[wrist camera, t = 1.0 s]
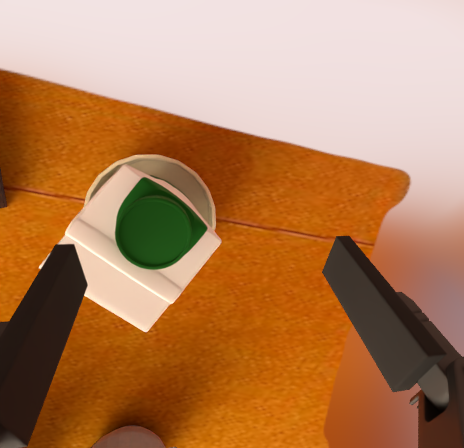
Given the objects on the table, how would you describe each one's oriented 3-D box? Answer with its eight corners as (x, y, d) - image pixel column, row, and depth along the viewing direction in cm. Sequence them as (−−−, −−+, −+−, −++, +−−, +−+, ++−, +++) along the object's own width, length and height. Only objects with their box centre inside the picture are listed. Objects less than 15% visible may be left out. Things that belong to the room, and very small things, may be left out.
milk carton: (204, 209, 34) (243, 249, 15) (160, 262, 34) (143, 369, 15) (149, 164, 32) (112, 143, 13) (102, 220, 32) (-7, 286, 13)
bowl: (88, 158, 31) (74, 154, 27) (208, 157, 34) (213, 154, 29) (102, 272, 33) (91, 286, 29) (212, 262, 36) (217, 273, 32)
